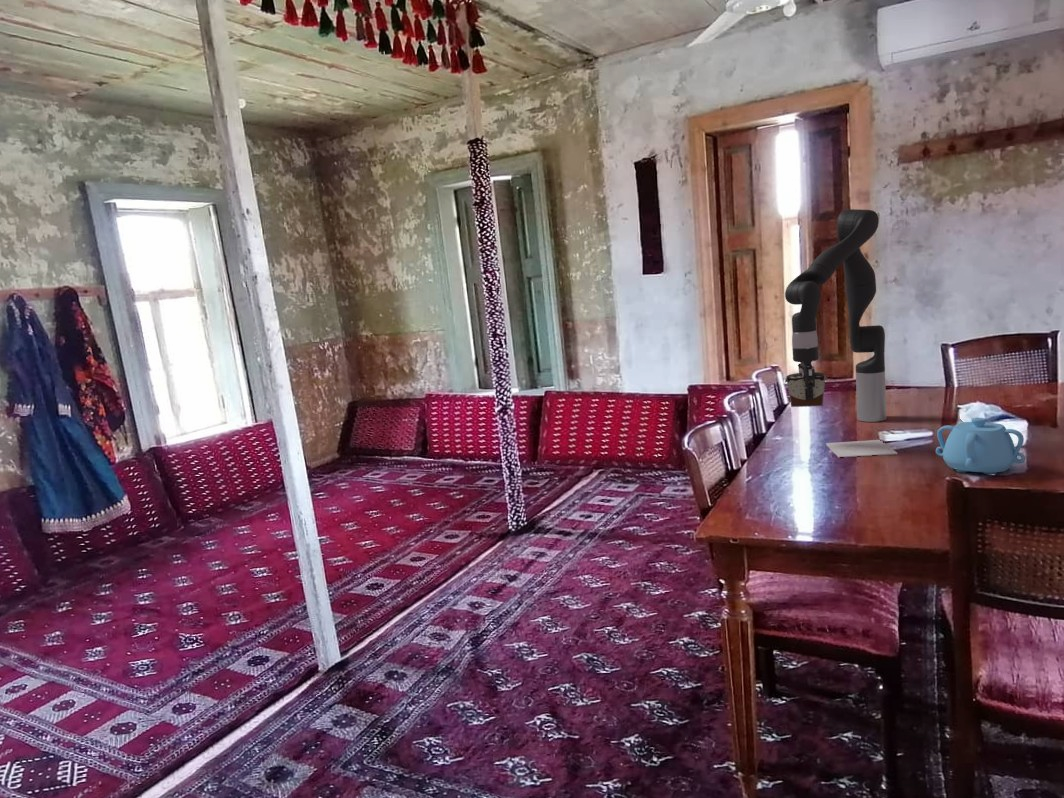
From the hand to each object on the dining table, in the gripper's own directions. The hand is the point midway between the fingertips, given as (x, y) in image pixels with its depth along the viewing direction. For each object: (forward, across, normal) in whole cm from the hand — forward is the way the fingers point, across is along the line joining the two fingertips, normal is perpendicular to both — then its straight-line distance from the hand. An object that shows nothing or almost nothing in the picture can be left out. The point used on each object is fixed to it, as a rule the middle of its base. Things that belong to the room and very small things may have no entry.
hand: (807, 398), depth 215 cm
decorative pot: (+15, +35, +35) cm, 52 cm away
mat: (+15, +9, +13) cm, 22 cm away
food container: (+2, -1, 0) cm, 3 cm away
